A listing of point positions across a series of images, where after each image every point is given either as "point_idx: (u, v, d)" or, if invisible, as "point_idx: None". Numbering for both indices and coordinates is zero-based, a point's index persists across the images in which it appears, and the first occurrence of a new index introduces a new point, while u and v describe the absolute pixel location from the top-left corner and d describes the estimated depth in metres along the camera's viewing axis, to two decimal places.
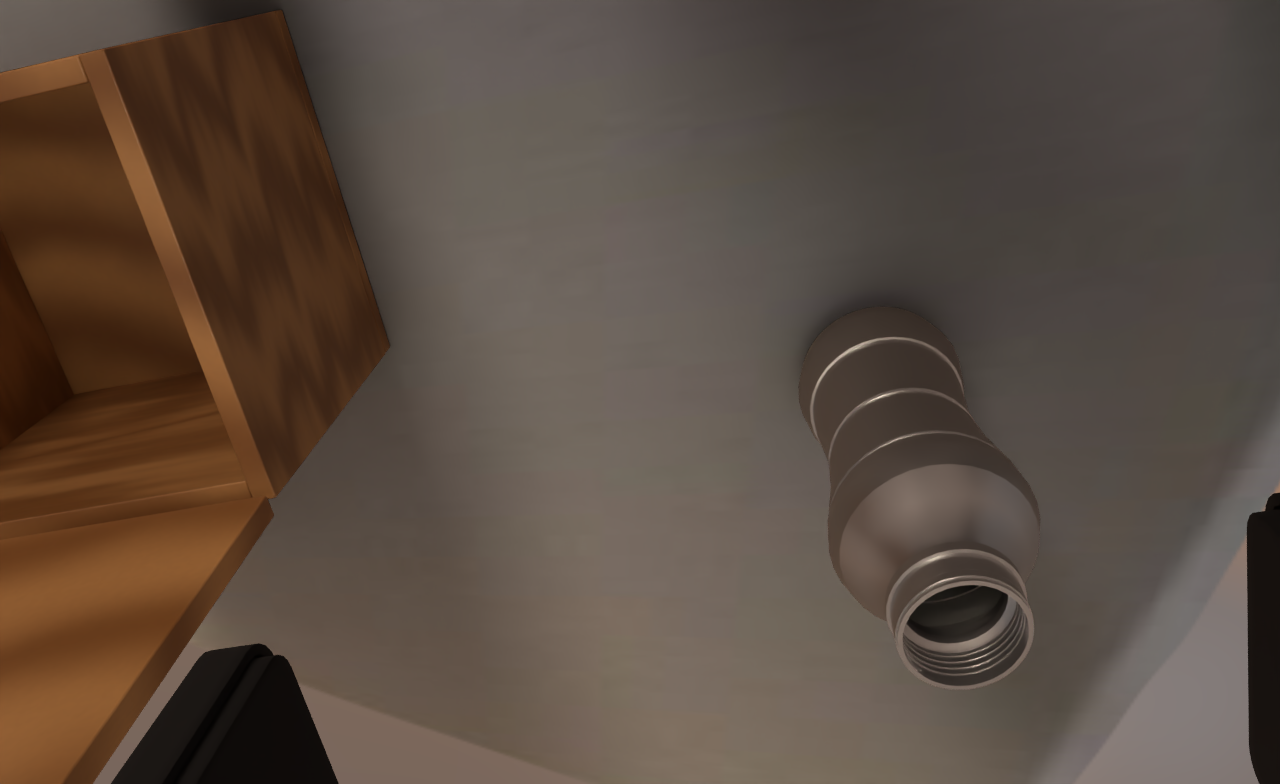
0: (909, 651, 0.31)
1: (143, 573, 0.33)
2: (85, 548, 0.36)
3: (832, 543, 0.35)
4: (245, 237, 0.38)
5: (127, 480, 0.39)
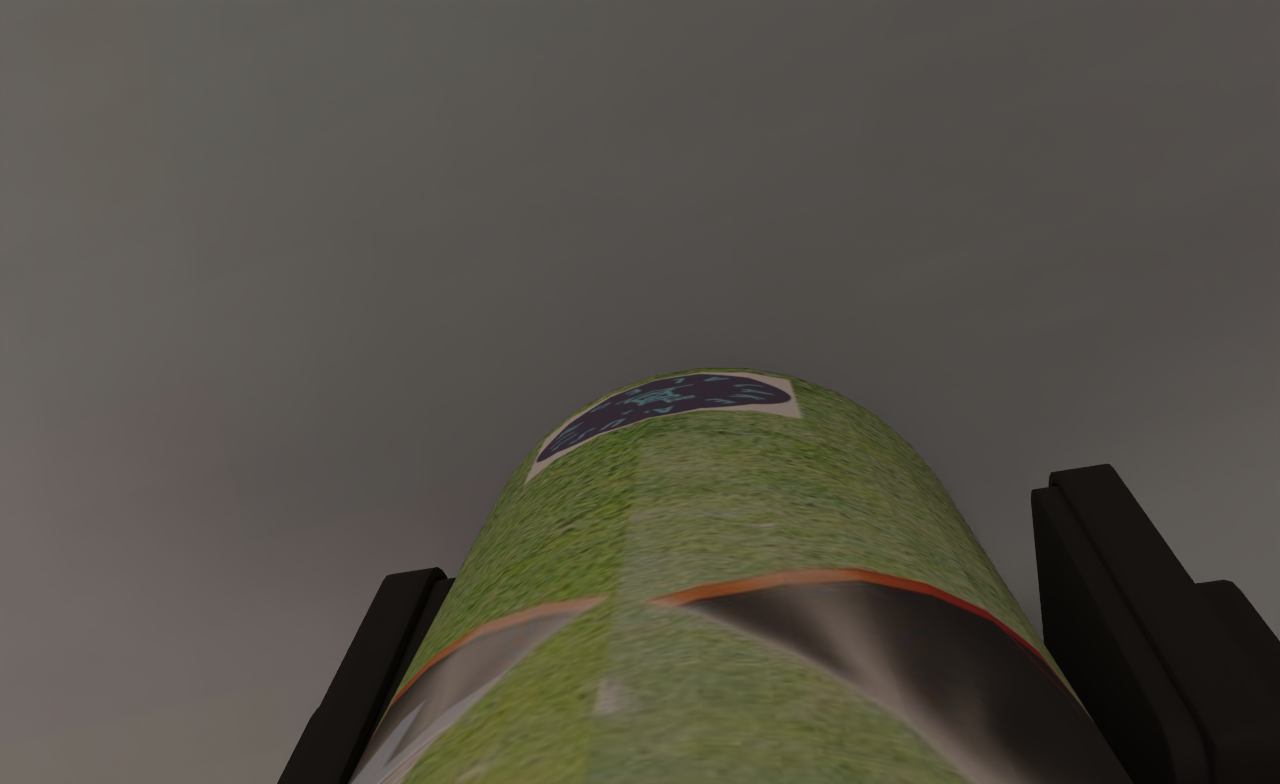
0: None
1: None
2: None
3: None
4: None
5: None
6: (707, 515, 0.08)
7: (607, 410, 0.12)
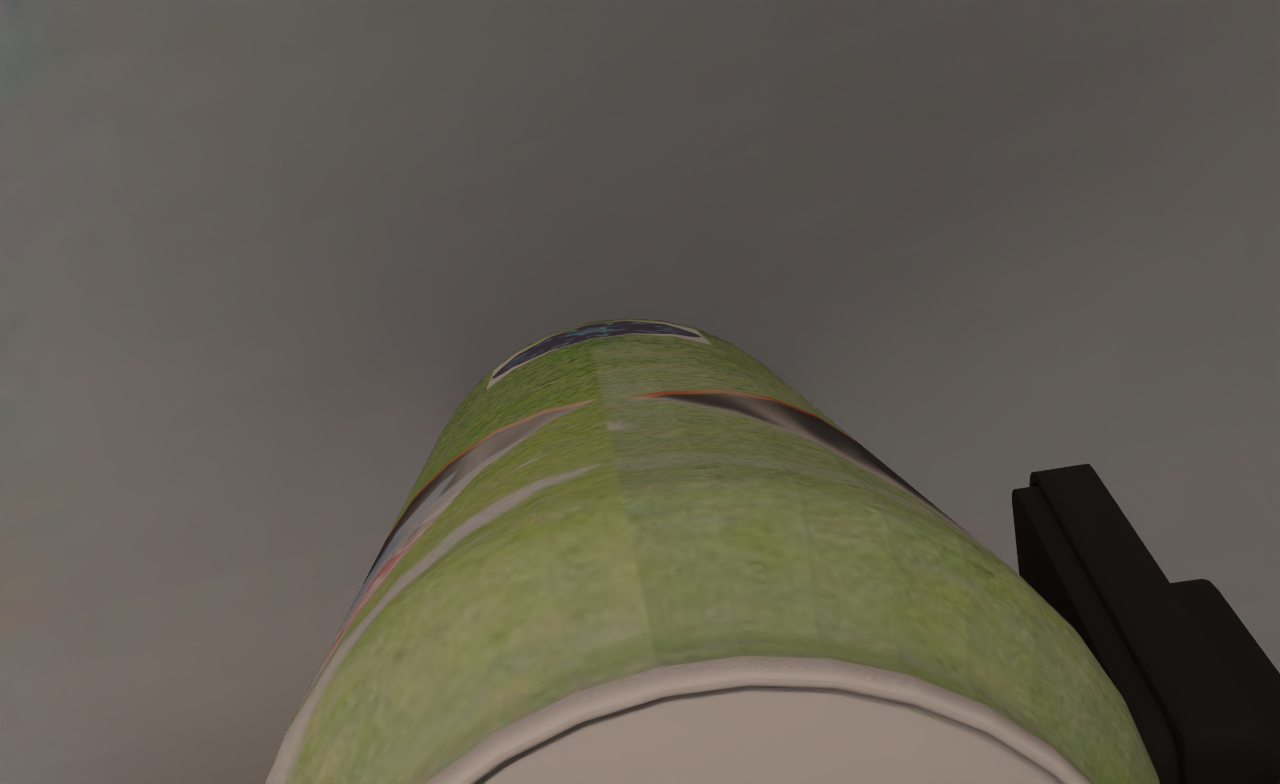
0: None
1: None
2: None
3: None
4: None
5: None
6: (658, 369, 0.11)
7: (552, 341, 0.15)
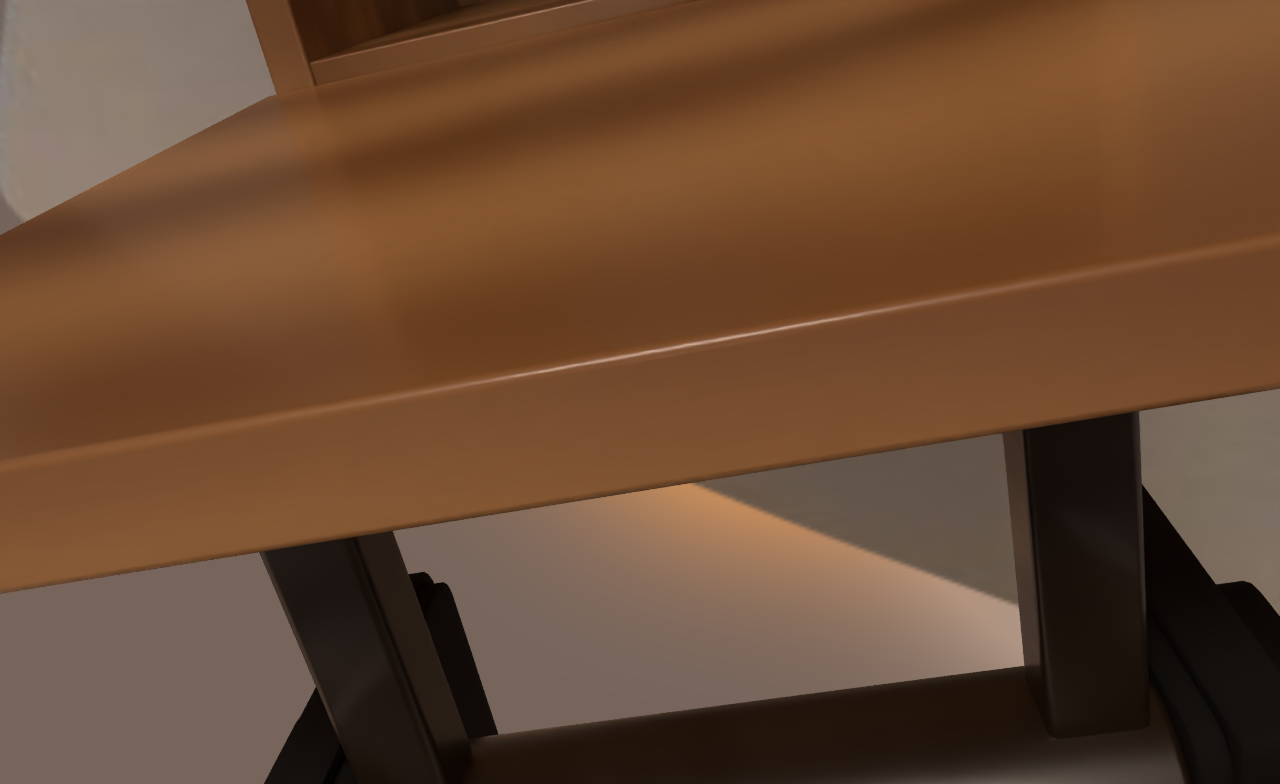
0: None
1: None
2: None
3: None
4: None
5: None
6: None
7: None
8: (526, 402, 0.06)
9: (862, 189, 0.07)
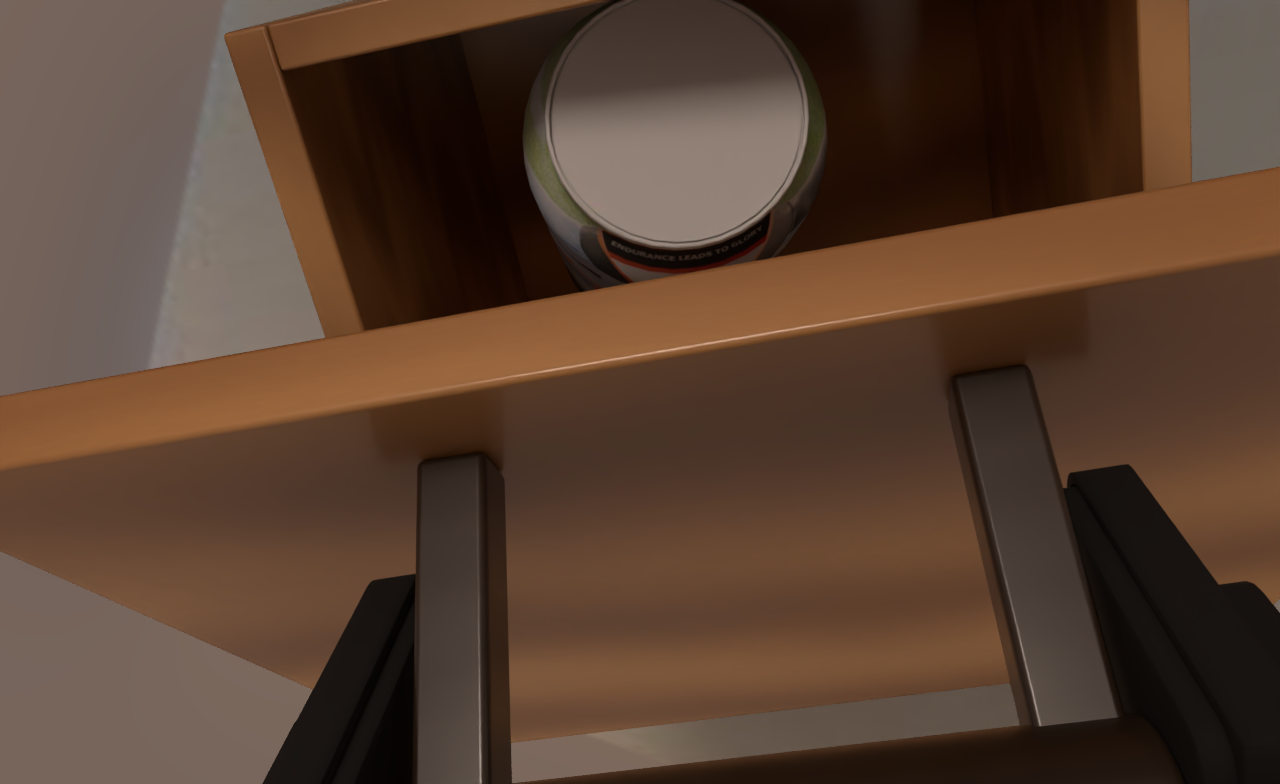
0: None
1: None
2: None
3: None
4: None
5: None
6: None
7: None
8: (630, 296, 0.10)
9: None
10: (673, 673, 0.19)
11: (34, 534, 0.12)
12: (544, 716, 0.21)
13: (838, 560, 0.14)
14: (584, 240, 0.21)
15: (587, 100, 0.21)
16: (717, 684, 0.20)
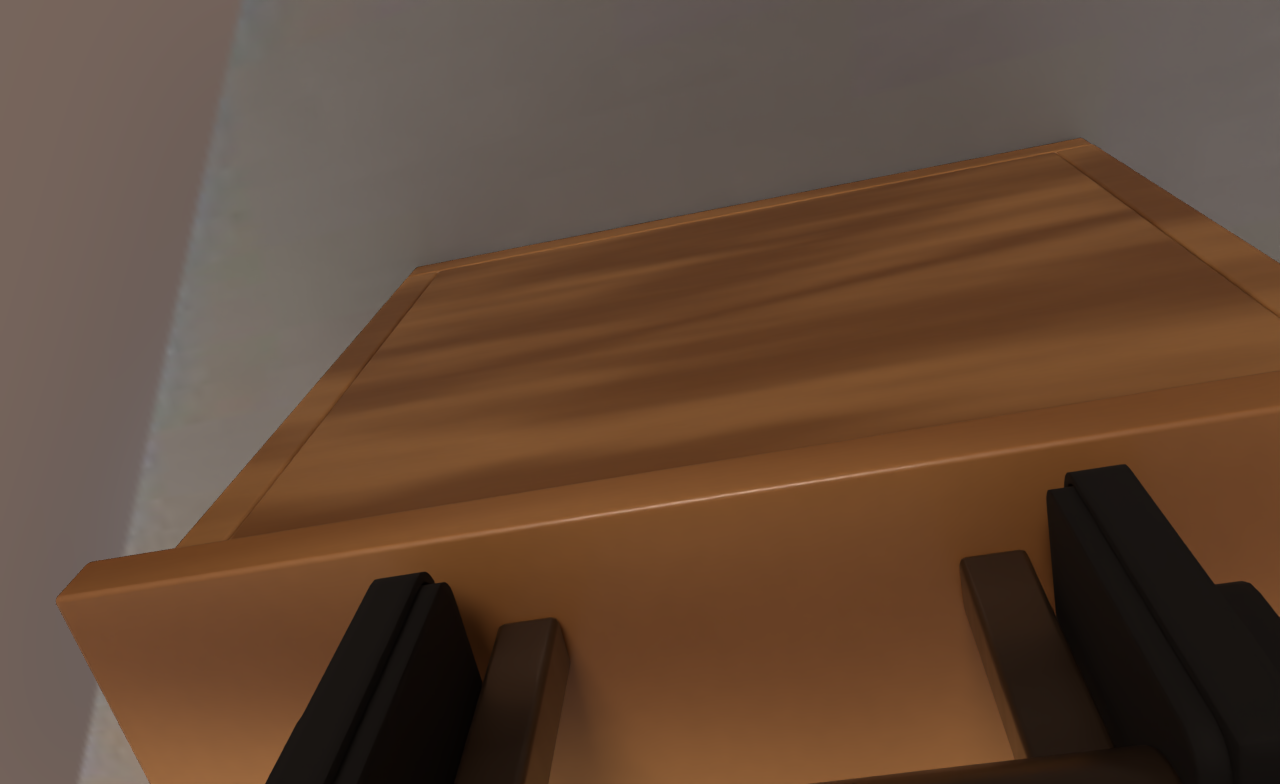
0: None
1: None
2: None
3: None
4: None
5: None
6: None
7: None
8: (691, 469, 0.12)
9: None
10: None
11: (157, 694, 0.13)
12: None
13: None
14: None
15: None
16: None
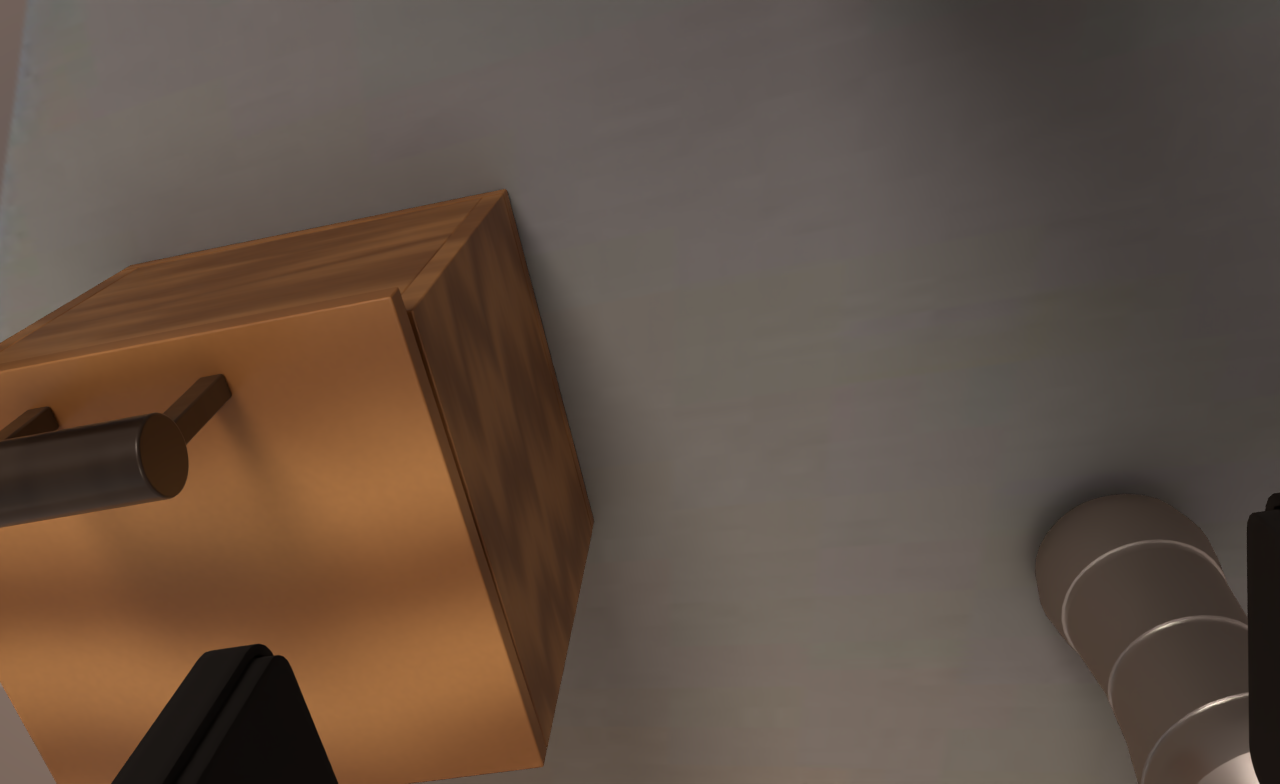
0: None
1: None
2: None
3: None
4: (507, 463, 0.36)
5: None
6: None
7: None
8: (102, 344, 0.29)
9: None
10: None
11: None
12: None
13: (224, 541, 0.31)
14: None
15: None
16: None
